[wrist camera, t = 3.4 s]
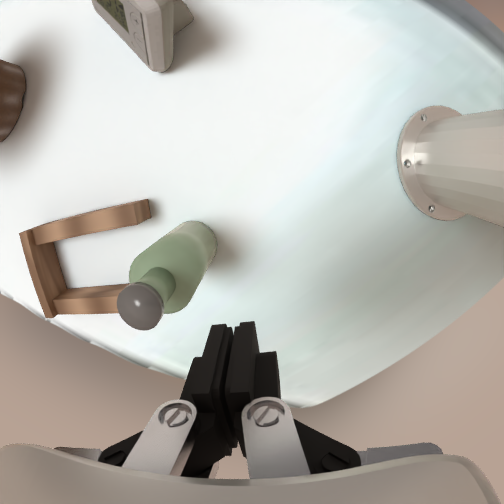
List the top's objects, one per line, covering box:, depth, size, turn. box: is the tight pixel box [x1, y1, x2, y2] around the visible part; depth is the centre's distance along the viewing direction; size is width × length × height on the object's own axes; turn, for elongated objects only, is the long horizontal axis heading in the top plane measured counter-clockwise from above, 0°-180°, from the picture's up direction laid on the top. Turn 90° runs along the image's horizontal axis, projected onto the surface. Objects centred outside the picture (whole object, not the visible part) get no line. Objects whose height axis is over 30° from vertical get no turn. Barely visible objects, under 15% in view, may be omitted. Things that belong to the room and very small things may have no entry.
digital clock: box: [92, 0, 194, 72], centre depth 17 cm, size 16×9×11 cm, turn 27°
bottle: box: [117, 221, 217, 330], centre depth 23 cm, size 5×5×14 cm
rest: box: [19, 199, 151, 318], centre depth 28 cm, size 16×11×4 cm, turn 98°
